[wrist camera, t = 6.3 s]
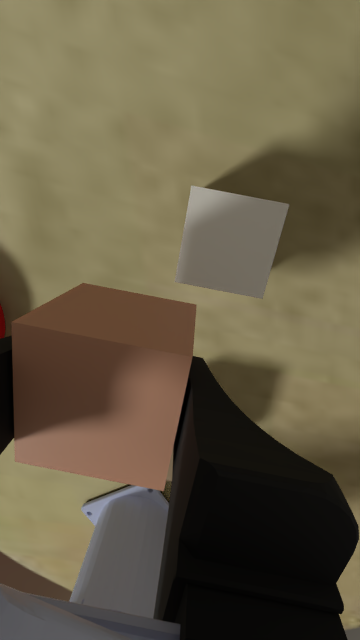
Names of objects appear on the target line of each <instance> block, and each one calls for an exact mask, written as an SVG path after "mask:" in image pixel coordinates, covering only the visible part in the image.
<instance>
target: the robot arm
mask: <svg viewBox="0 0 360 640" xmlns="http://www.w3.org/2000/svg"><path fill="white" fill-rule="evenodd" d="M13 438H14V402H13V364H12V336H9V337H5V338H1V339H0V454H1V453H2V452H3V451H4V449H5V448H6V447H7V445H8V444H9V443H10V442H11V441H12V439H13ZM81 510H82V511H83V513H84V514H85V515H86V516H87V517H88V518H89V519H90V521H91V522H92V523H93V524H94V525H95V529H94V532H93V535H92V538H91V541H90V543H89V546H88V549H87V552H86V555H85V558H84V561H83V564H82V566H81V569H80V572H79V575H78V578H77V581H76V584H75V587H74V589H73V592H72V595H71V598H70V601H69V602H68V601H63V600H59V599H53V598H48V597H44V596H39V595H34V594H29V593H24V592H21V591H18V590H16V589H14V588H11V587H8V586H6V585H3V584H1V583H0V640H347V637H346V634H345V631H344V628H343V625H342V622H341V619H340V617H339V614H342V612H343V611H344V605H343V601H342V598H341V596H340V593H339V590H338V587H337V585H336V582H337V581H338V579H339V577H340V575H341V574H342V572H343V570H344V569H345V567H346V565H347V563H348V562H349V560H350V558H351V556H352V555H353V553H354V551H355V548H356V545H357V543H358V540H359V530H358V524H357V522H356V520H355V517H354V515H353V513H352V511H351V509H350V507H349V505H348V503H347V501H346V499H345V497H344V495H343V493H342V491H341V489H340V487H339V485H338V484H337V482H336V480H335V479H334V477H333V475H332V474H330V473H328V472H327V471H325V470H323V469H321V468H320V467H318V466H316V465H314V464H313V463H311V462H309V461H307V460H306V459H304V458H302V457H301V456H299V455H297V454H296V453H294V452H293V451H291V450H290V449H288V448H287V447H285V446H284V445H282V444H281V443H279V442H278V441H276V440H275V439H274V438H272V437H271V436H270V435H268V434H267V433H266V432H265V431H263V430H262V429H261V428H260V427H259V426H257V425H256V424H255V423H254V422H253V421H251V420H250V419H249V418H248V417H247V416H246V415H245V414H244V413H243V412H242V411H241V410H240V409H239V408H238V407H237V406H236V405H235V404H234V403H233V402H232V400H231V399H230V398H229V397H228V396H227V394H226V393H225V392H224V391H223V389H222V388H221V387H220V385H219V384H218V382H217V381H216V379H215V378H214V376H213V375H212V373H211V371H210V370H209V368H208V366H207V364H206V363H205V361H204V359H203V358H200V357H195V356H193V357H192V362H191V366H190V371H189V376H188V380H187V385H186V390H185V394H184V399H183V404H182V408H181V413H180V418H179V422H178V427H177V432H176V436H175V441H174V446H173V472H172V486H171V494H170V501H169V503H168V501H167V500H166V499H165V497H164V496H163V495H162V494H161V492H160V491H159V490H155V489H150V488H145V487H140V486H135V485H131V486H128V487H125V488H123V489H120V490H118V491H115V492H113V493H110V494H107V495H105V496H102V497H100V498H97V499H94V500H92V501H89V502H87V503H84V504H83V506H82V508H81Z"/></svg>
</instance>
